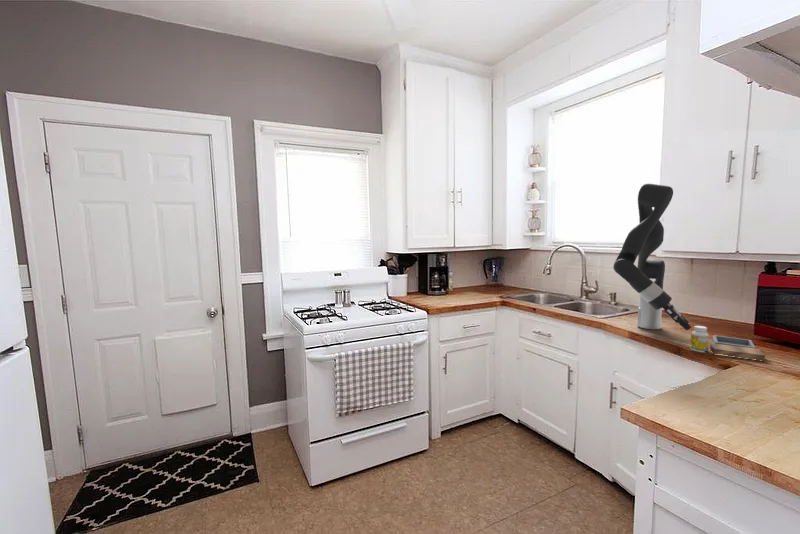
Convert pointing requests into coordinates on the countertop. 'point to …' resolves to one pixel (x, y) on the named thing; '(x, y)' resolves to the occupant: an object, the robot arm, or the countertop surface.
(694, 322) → the countertop surface
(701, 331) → the supplement bottle
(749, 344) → the tray
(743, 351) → the brown flat block
